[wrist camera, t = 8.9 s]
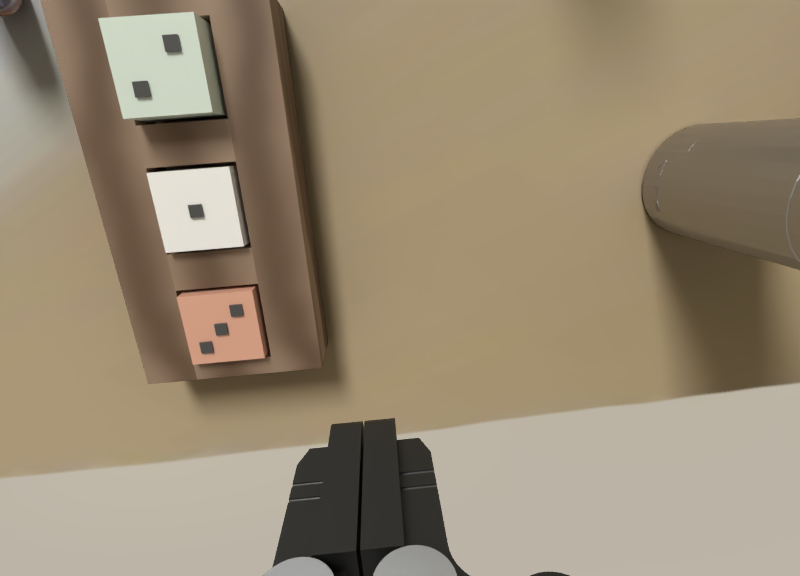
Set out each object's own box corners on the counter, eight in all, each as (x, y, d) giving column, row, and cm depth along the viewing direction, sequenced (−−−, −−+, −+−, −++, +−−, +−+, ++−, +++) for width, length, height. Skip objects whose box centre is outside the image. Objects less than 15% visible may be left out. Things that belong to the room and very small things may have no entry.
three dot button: (263, 277, 37) (251, 291, 33) (274, 339, 38) (264, 359, 35) (194, 283, 36) (175, 298, 33) (208, 345, 38) (191, 365, 35)
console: (282, 8, 33) (267, -15, 28) (327, 342, 41) (321, 368, 36) (89, 21, 32) (40, 0, 28) (174, 356, 41) (148, 384, 36)
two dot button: (213, 26, 30) (192, 10, 26) (229, 115, 32) (211, 112, 28) (128, 32, 30) (96, 17, 26) (149, 121, 31) (121, 118, 28)
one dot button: (243, 164, 34) (228, 166, 30) (256, 236, 36) (243, 247, 32) (168, 170, 34) (144, 173, 30) (185, 242, 35) (164, 253, 32)
